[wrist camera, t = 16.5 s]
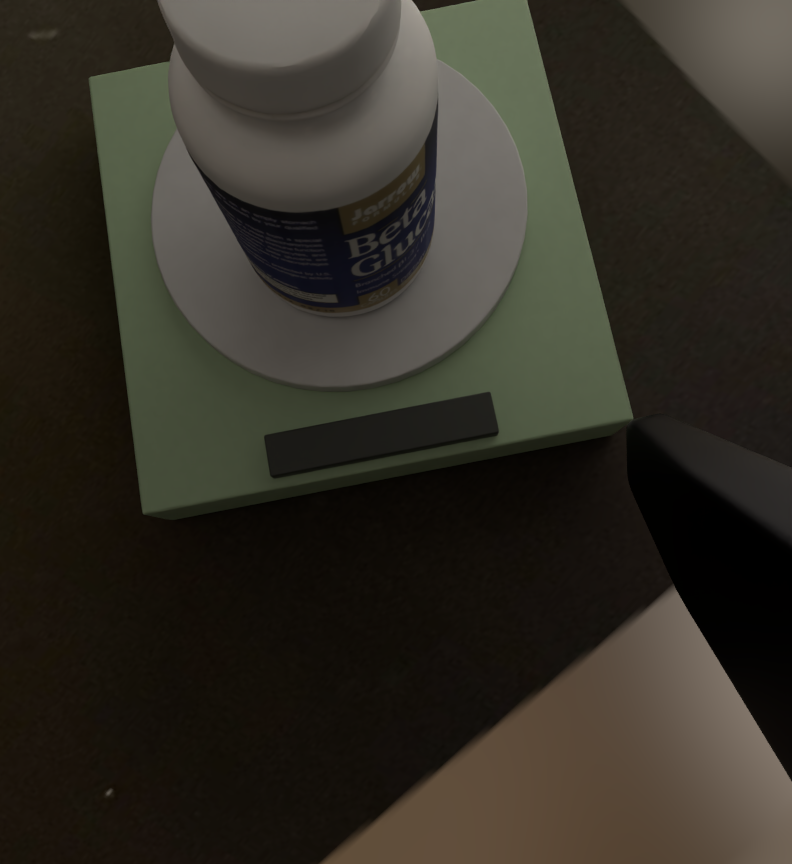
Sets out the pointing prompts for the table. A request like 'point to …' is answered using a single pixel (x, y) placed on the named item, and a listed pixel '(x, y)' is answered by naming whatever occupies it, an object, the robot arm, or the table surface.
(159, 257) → the scale
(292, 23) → the pill bottle
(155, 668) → the table surface
